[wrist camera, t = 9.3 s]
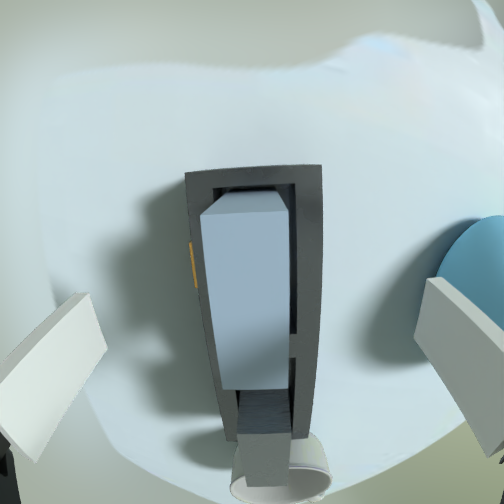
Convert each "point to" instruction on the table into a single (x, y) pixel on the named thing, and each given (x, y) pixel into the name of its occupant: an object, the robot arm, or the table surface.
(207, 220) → the panel
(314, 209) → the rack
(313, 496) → the teacup
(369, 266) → the table surface
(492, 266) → the sugar bowl
